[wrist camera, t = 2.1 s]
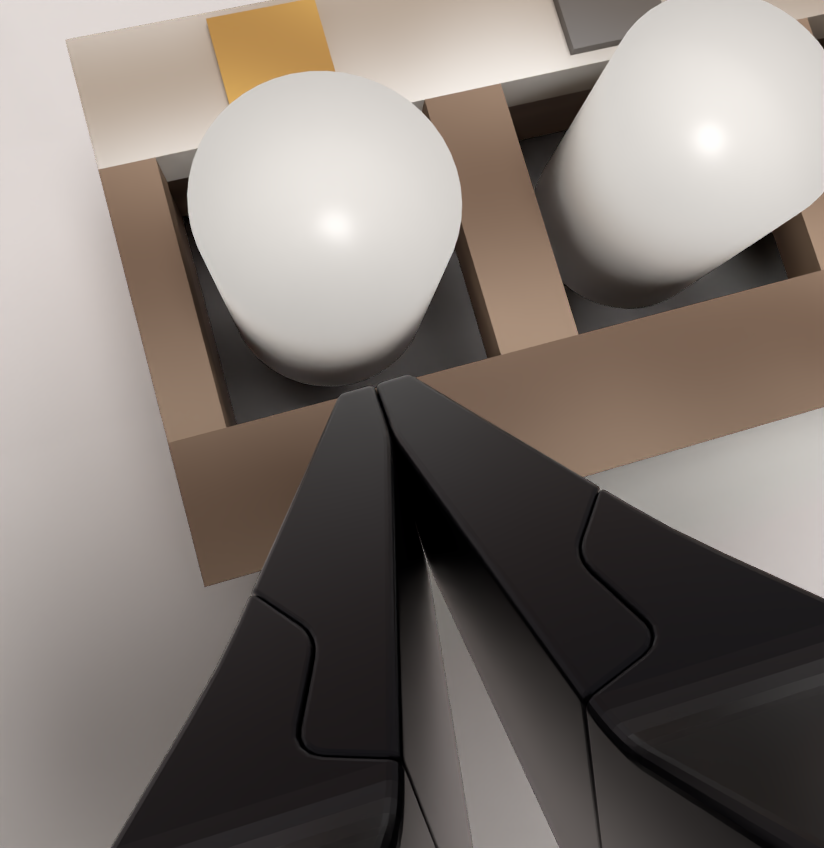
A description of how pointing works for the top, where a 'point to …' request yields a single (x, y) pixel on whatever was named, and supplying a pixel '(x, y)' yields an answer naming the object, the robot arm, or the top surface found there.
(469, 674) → the top surface
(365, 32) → the brown compartment box
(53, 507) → the top surface
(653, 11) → the middle button
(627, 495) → the top surface
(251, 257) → the button
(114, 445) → the top surface
